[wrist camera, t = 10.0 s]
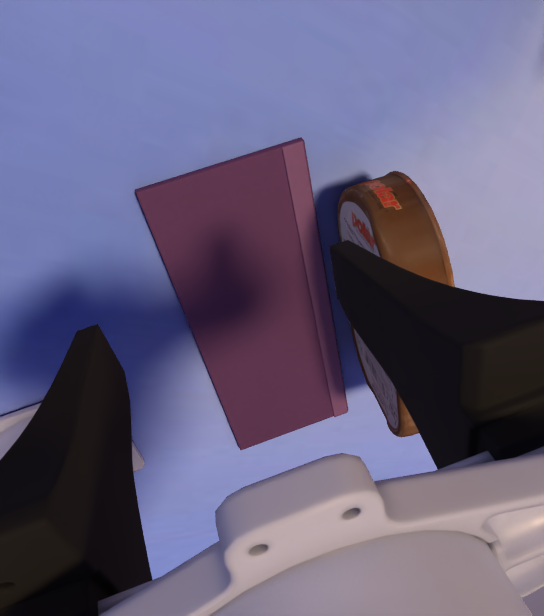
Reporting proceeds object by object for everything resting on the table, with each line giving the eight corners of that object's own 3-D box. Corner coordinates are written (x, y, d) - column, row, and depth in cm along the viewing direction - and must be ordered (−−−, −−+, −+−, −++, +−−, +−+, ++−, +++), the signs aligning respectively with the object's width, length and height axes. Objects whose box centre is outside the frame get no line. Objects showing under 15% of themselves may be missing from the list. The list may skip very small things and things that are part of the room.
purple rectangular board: (239, 446, 36) (241, 451, 36) (134, 189, 23) (135, 193, 23) (346, 406, 37) (348, 411, 36) (301, 136, 24) (304, 140, 24)
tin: (390, 355, 35) (459, 455, 28) (347, 370, 35) (406, 475, 28) (376, 142, 25) (475, 220, 19) (316, 161, 25) (395, 247, 19)
